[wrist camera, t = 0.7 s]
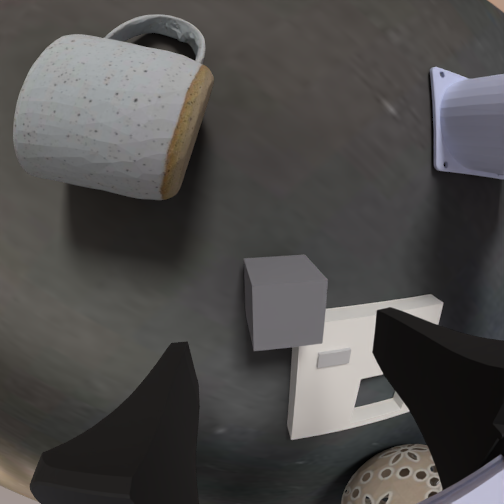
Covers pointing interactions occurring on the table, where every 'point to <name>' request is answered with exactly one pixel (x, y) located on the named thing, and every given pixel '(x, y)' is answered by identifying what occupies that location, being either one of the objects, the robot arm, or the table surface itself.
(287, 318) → the plug
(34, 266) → the table surface
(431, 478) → the ornament
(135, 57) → the ceramic mug
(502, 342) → the robot arm
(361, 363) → the socket
